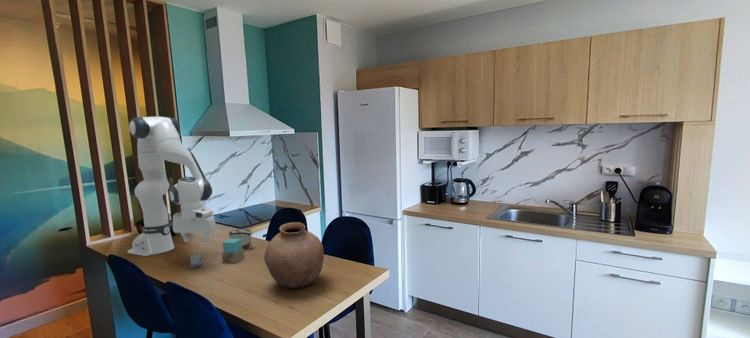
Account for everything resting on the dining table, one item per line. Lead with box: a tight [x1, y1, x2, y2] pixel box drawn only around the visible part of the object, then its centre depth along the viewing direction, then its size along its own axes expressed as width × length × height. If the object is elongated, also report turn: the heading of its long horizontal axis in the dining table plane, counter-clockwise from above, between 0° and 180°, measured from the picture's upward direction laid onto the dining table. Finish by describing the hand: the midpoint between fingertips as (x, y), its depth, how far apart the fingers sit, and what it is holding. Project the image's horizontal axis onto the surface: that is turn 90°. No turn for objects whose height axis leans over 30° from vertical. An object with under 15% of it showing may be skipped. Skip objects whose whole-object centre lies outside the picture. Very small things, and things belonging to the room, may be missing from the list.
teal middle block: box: [222, 238, 242, 253], centre depth 173 cm, size 6×6×5 cm
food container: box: [228, 228, 253, 251], centre depth 190 cm, size 12×6×10 cm, turn 84°
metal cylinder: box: [189, 253, 204, 269], centre depth 167 cm, size 5×5×5 cm
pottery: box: [263, 221, 325, 289], centre depth 143 cm, size 23×23×25 cm
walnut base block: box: [221, 249, 245, 265], centre depth 173 cm, size 7×7×5 cm
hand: (196, 241), depth 166 cm, fingers open, 8 cm apart
